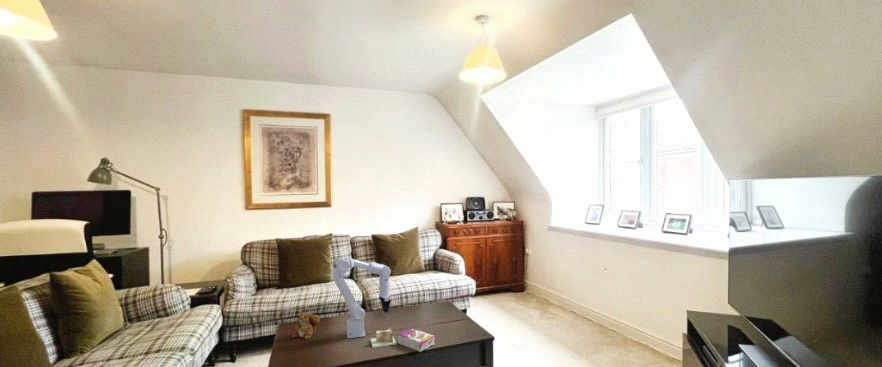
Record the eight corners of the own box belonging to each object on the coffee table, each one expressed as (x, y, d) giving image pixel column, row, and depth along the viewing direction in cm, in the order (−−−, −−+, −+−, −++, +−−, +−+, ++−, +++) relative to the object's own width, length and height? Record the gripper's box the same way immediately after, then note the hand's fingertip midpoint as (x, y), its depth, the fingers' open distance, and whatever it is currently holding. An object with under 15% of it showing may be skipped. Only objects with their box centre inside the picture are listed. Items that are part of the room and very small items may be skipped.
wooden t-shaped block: (377, 344, 194) (377, 334, 194) (375, 339, 200) (375, 329, 200) (393, 342, 196) (392, 332, 196) (390, 337, 203) (390, 327, 203)
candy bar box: (412, 327, 204) (435, 335, 194) (412, 336, 204) (435, 345, 194) (396, 334, 196) (420, 342, 185) (397, 343, 196) (420, 352, 185)
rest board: (372, 347, 191) (372, 346, 191) (370, 340, 201) (370, 338, 201) (396, 344, 195) (396, 342, 195) (393, 337, 204) (392, 335, 204)
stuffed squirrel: (290, 338, 206) (290, 313, 206) (309, 328, 219) (309, 306, 219) (304, 340, 202) (303, 316, 202) (323, 331, 215) (322, 308, 215)
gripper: (393, 289, 211) (394, 313, 211) (389, 282, 225) (389, 305, 225) (380, 290, 209) (381, 314, 209) (377, 283, 223) (378, 306, 223)
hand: (385, 310), depth 217 cm, fingers open, 7 cm apart
